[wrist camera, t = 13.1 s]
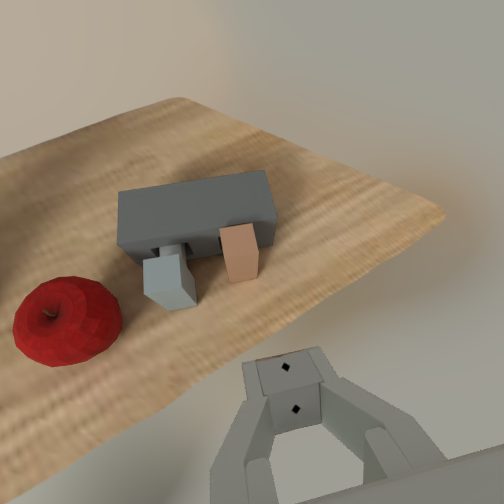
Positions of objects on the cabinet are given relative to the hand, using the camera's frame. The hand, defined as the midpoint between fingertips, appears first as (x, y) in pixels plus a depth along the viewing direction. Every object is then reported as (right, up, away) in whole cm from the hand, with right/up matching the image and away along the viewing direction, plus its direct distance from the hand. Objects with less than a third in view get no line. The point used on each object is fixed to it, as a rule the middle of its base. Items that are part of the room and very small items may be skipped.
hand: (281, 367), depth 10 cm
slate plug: (-12, +1, +28) cm, 30 cm away
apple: (-21, -6, +25) cm, 34 cm away
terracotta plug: (-3, +5, +30) cm, 30 cm away
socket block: (-8, +7, +31) cm, 33 cm away
